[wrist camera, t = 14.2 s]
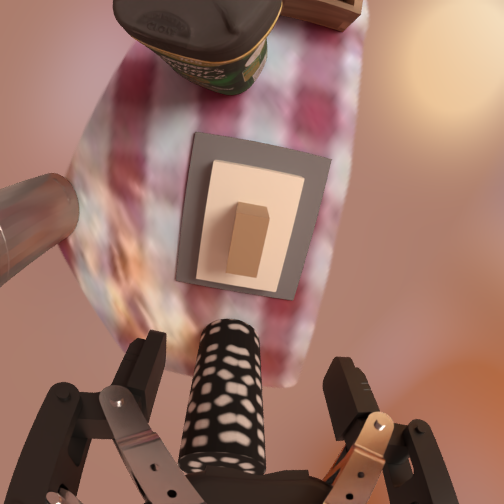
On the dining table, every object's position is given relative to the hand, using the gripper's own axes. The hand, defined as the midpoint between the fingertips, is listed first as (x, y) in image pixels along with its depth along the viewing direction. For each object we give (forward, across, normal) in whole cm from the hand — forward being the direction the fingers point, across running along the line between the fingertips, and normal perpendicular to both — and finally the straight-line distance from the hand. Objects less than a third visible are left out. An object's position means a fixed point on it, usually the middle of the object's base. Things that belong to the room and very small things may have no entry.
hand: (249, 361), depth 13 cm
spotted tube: (+22, -1, +18) cm, 28 cm away
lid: (+22, 0, 0) cm, 22 cm away
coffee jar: (+22, +6, -18) cm, 29 cm away
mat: (+22, 0, 0) cm, 22 cm away
